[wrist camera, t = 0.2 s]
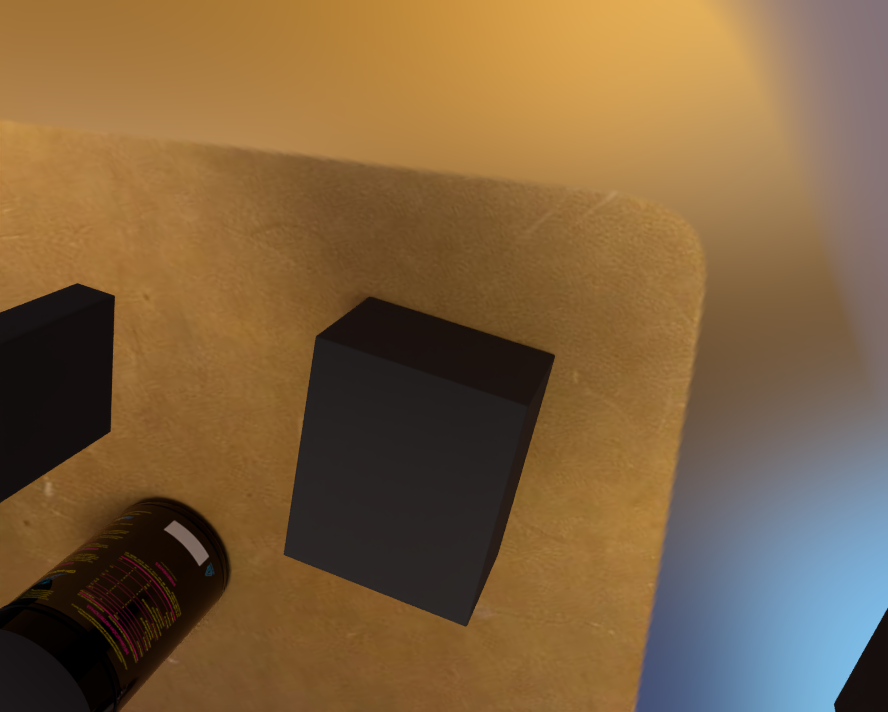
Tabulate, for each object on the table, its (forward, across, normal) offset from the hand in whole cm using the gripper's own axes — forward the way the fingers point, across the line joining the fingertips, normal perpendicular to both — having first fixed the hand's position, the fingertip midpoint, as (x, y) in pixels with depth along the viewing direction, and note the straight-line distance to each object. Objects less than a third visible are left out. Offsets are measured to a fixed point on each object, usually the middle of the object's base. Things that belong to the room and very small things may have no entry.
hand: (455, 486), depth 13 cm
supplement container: (+19, -16, -22) cm, 33 cm away
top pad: (+19, -4, -10) cm, 22 cm away
